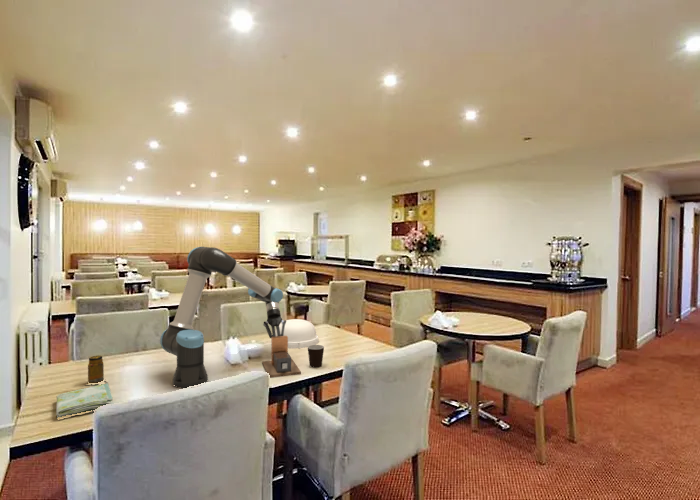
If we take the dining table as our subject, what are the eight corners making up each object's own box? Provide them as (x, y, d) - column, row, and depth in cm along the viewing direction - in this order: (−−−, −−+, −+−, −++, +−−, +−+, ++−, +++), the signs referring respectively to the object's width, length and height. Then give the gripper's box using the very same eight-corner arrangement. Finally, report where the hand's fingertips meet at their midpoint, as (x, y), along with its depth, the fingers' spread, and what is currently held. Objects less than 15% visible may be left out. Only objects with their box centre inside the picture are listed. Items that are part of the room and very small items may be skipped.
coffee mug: (321, 369, 204) (321, 349, 203) (305, 367, 206) (305, 348, 205) (327, 362, 215) (327, 343, 215) (311, 360, 217) (312, 342, 217)
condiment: (92, 380, 186) (92, 354, 185) (111, 379, 187) (111, 354, 186) (83, 386, 178) (83, 359, 178) (103, 385, 179) (103, 359, 179)
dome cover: (269, 337, 267) (269, 316, 266) (313, 334, 275) (313, 314, 274) (274, 350, 236) (274, 327, 235) (323, 347, 244) (323, 324, 244)
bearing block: (277, 372, 194) (277, 358, 194) (273, 366, 203) (273, 353, 203) (291, 371, 197) (291, 357, 196) (287, 365, 206) (287, 351, 206)
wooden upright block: (276, 373, 192) (276, 344, 192) (271, 363, 207) (271, 336, 207) (292, 371, 195) (293, 343, 195) (286, 361, 210) (286, 335, 210)
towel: (55, 423, 144) (55, 409, 144) (56, 402, 162) (56, 390, 162) (113, 410, 155) (113, 397, 155) (108, 392, 172) (108, 381, 172)
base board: (268, 377, 191) (268, 375, 191) (262, 363, 211) (262, 361, 211) (301, 374, 196) (301, 371, 196) (291, 360, 217) (291, 358, 217)
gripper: (283, 314, 233) (289, 350, 218) (261, 316, 228) (265, 353, 213) (285, 307, 227) (291, 343, 212) (262, 308, 223) (266, 346, 208)
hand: (278, 348), depth 213 cm, fingers closed
